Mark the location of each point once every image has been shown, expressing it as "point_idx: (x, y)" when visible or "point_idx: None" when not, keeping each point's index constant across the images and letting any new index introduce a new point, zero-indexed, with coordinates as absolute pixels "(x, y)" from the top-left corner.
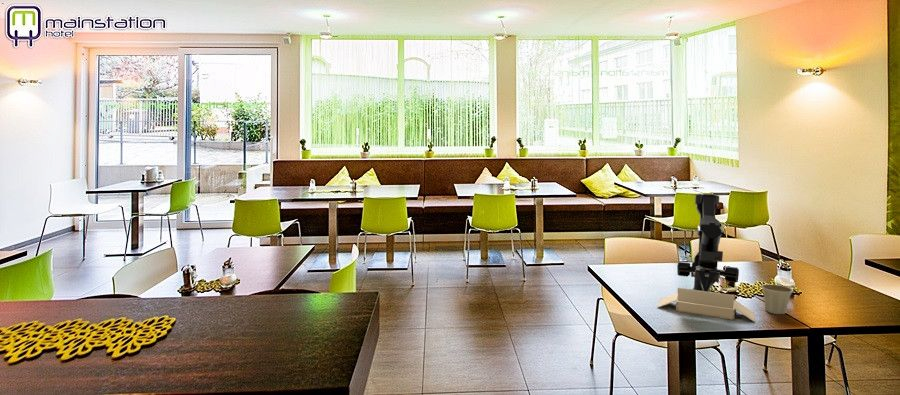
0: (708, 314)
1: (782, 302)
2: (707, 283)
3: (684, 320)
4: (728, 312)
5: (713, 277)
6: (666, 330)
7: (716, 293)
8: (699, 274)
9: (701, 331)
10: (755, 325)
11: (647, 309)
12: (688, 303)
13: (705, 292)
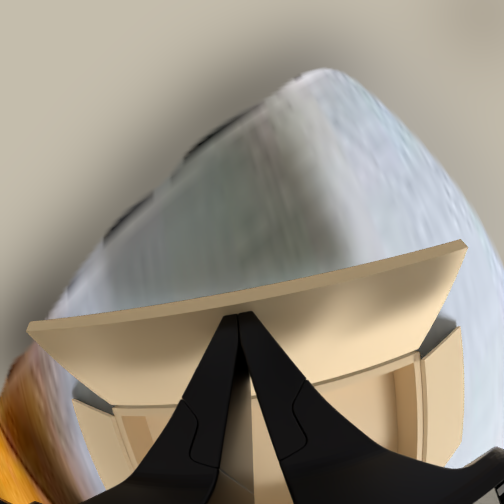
0: None
1: None
2: (225, 393)
3: (320, 226)
4: None
5: (128, 486)
6: (322, 83)
7: (133, 314)
8: (408, 462)
9: (221, 136)
10: None
11: (472, 273)
12: (359, 372)
13: (235, 293)
